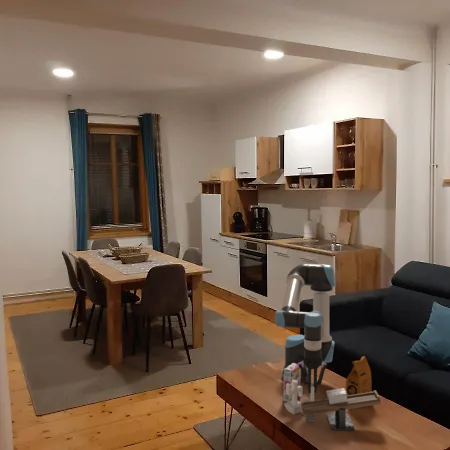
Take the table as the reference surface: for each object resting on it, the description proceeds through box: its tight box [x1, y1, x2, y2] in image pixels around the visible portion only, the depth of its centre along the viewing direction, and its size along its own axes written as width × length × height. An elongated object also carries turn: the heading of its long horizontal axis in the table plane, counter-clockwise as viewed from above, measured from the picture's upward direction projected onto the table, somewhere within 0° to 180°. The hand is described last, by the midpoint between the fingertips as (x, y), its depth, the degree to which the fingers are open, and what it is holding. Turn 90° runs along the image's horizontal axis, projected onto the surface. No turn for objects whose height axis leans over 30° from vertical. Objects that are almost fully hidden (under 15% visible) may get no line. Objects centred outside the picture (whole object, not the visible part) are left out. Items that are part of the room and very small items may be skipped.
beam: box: [300, 390, 382, 422], centre depth 210 cm, size 9×34×6 cm, turn 86°
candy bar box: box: [282, 363, 302, 403], centre depth 235 cm, size 11×5×16 cm, turn 147°
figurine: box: [283, 380, 304, 415], centre depth 222 cm, size 7×9×15 cm
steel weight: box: [325, 387, 348, 406], centre depth 210 cm, size 6×8×5 cm
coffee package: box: [345, 355, 373, 409], centre depth 230 cm, size 10×12×22 cm
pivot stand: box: [325, 408, 356, 432], centre depth 211 cm, size 14×10×9 cm
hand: (312, 399), depth 211 cm, fingers closed
